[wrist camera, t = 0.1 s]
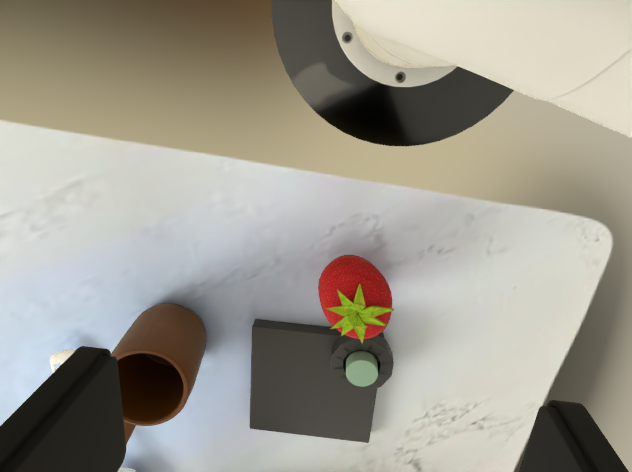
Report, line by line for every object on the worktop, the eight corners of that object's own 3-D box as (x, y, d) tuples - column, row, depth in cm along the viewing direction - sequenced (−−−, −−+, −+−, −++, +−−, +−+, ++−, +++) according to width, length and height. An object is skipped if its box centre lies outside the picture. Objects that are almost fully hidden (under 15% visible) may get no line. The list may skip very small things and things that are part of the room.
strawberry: (368, 224, 41) (372, 270, 31) (399, 292, 43) (411, 354, 33) (310, 248, 42) (297, 299, 33) (343, 312, 44) (339, 378, 35)
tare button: (347, 348, 42) (347, 358, 41) (379, 352, 42) (379, 362, 41) (344, 374, 43) (344, 384, 42) (375, 377, 43) (376, 388, 42)
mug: (172, 409, 48) (147, 478, 39) (105, 383, 47) (62, 448, 38) (220, 319, 46) (205, 370, 37) (150, 288, 44) (117, 333, 35)
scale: (255, 310, 45) (248, 326, 42) (394, 325, 44) (396, 343, 41) (252, 419, 50) (246, 440, 47) (377, 434, 49) (378, 456, 46)
